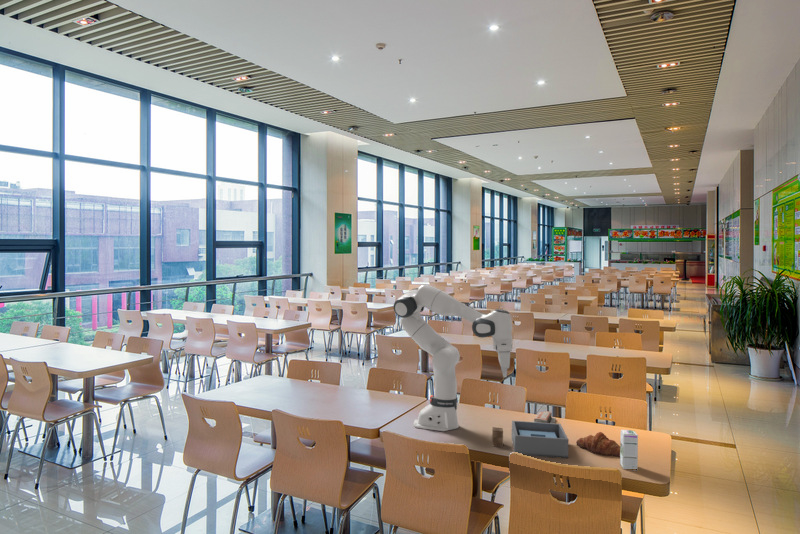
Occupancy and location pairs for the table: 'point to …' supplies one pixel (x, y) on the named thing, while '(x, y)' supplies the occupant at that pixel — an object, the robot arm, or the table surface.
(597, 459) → the table surface
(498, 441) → the peg
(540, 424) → the open box
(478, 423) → the table surface
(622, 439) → the syrup box
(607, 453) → the pastry
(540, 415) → the packaged product
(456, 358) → the robot arm
